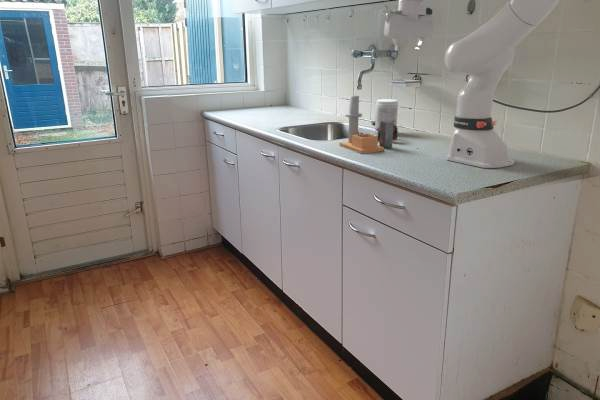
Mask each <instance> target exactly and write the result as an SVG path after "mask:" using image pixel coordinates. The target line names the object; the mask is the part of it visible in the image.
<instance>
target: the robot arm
mask: <svg viewBox="0 0 600 400" xmlns="http://www.w3.org/2000/svg"><path fill="white" fill-rule="evenodd" d="M560 1H561V0H508V1H507V2H506V3H505V4H504V5H503V6H502V7H501V8H500V9H499V10H498V11H497V12H496V13H495V15H494V16H493V17H491V18H490V19H489V20H488V21H487V22H485V23H484V24H482V25H481V26H480V27H478V28H477V29H476V30H474V31H472V32H471V33H469V34H468V35H467V36H465V37H463V38H462V39H459V40H458V41H455V42H453V43H451V44H450V45H448V47H447V49H446V51H445V55H444V64H445V67H446V69H447V70H448V71H449V72H450V73H453V74H457V75H461V76H469V78H468V81H467V83H466V84H465V86H463V88H461V90H460V91H459V92H458V95H457V102H456V113H455V116H454V117H453V118H454V120H453V127H454V129H453V132H452V137H451V140H450V146H449V149H448V153H447V155H446V160H447V161H450V162H454V163H458V164H459V163H461V164H465V165H470V166H474V167H478V168H482V169H494V168H495V169H498V168H504V167H505V168H506V167H509V166H512V165H514V164H515V160H514V159H511V158H510V157H509V158H508V156H509V155H508V151H509V149H508V145H507V143H506V142H505V141H504V140H503V139H502V138H501V137H500V136H499V134H498V133H497V132H496V130H494V129H495V128H494V126H496V125H497V122H498V121H497V120H494V121H493V119H492V116H491V115H492V108H493V104H494V103H493V101H494V96H495V92H496V89H497V86H498V84H499V82H500V80H501V78H502V76H503V75H504V74H505V72H506V70H508V69H509V67H510V66H512V64H513V61H514V59H515V49H514V46H517V45H518V44H520V43H521V42H522V41H523V40H524V39H525V38H526V37H527V36H528V35H529V34H530V33H531V32H532V31H533V30H535V28H536V27H538V26H539V24H541V23H542V22H543V20H545V19H546V18H547V17H548V16H549V14H551V13H552V11H553V9H554V8H555V7H557V5H558V3H559V2H560ZM397 8H398V9H396V10H394V9H390V10H389V11H387V13H386V14H385V23H384V30H383V36H384V38H392V39H391V41H392V44H393V45H394V51H401V49H402V48H401V47H402V45H400V44H399V42H398V41H400V38H417V40H418V42H417V45H415V51H421V50H422V46H423V44H424V42H425V39H426V38H432V37H433V35H434V33H435V18H434V17H433V16H434V15H435V9H434V8H432V7H430V6H428V5H426V4H424V0H398V7H397Z"/></svg>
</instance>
